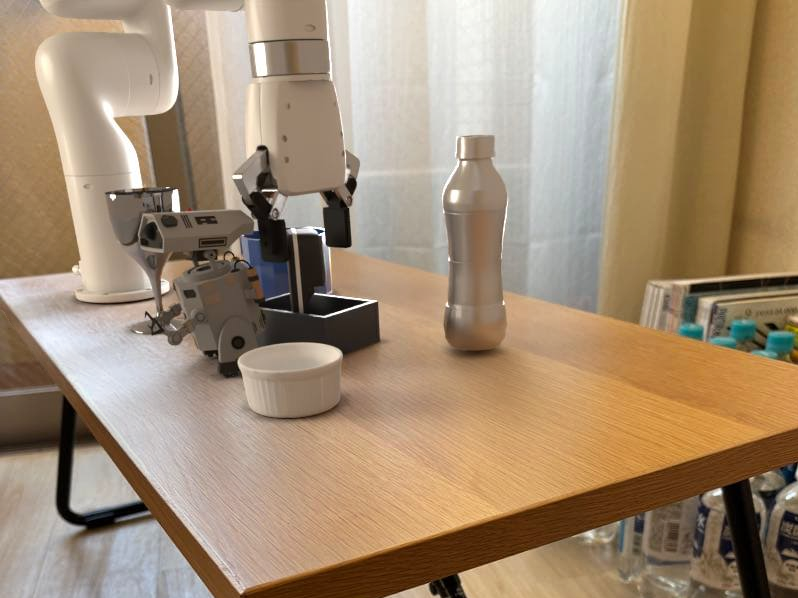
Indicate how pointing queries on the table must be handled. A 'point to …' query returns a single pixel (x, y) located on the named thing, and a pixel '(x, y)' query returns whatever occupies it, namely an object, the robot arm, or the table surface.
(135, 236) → the wine glass
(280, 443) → the table surface
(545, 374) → the table surface
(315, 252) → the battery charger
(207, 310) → the figurine
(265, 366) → the ramekin
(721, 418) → the table surface
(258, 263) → the cup
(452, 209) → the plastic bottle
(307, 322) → the bin
